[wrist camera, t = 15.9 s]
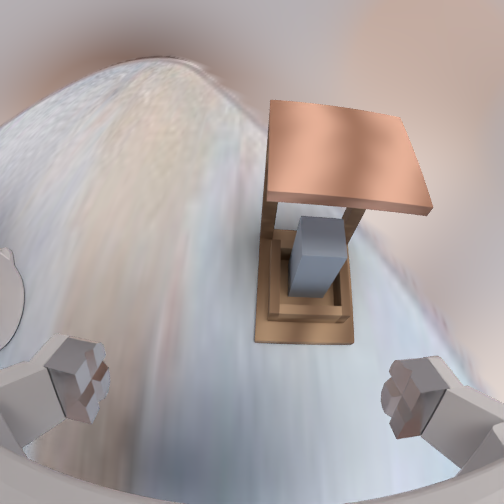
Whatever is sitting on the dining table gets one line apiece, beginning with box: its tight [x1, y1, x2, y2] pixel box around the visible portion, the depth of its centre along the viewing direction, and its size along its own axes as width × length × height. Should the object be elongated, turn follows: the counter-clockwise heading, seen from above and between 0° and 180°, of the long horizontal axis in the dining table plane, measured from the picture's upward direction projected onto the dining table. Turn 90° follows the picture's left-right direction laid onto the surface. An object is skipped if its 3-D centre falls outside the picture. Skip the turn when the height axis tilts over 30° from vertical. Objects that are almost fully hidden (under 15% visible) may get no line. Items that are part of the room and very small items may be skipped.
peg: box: [288, 216, 348, 298], centre depth 32 cm, size 4×4×10 cm
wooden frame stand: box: [255, 100, 433, 345], centre depth 28 cm, size 11×14×20 cm
